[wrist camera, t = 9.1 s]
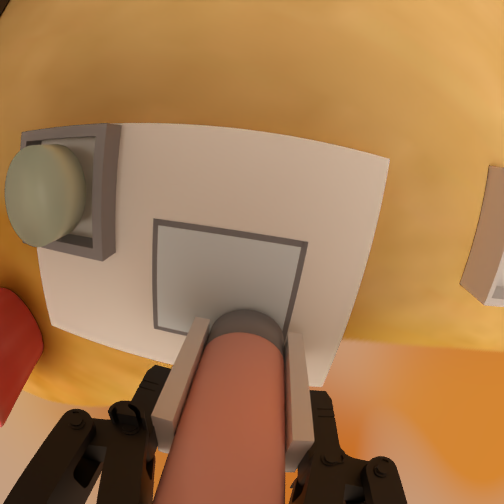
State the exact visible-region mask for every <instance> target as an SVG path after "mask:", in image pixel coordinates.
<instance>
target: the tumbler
mask: <svg viewBox="0 0 504 504" xmlns="http://www.w3.org/2000/svg"><path fill="white" fill-rule="evenodd" d="M284 364H285V362H284V337H283V333H282V330H281V328H280V327H279V325H278V324H277V323H276V322H275V321H274V320H273V319H272V318H270V317H269V316H267V315H265V314H263V313H261V312H258V311H254V310H247V309H241V310H234V311H230V312H228V313H225V314H223V315H222V316H220V317H219V318H218V319H217V320H216V321H215V322H214V323H213V325H212V327H211V330H210V333H209V336H208V338H207V341H206V344H205V347H204V350H203V354H202V357H201V360H200V362H199V365H198V368H197V371H196V374H195V377H194V380H193V383H192V386H191V388H190V391H189V394H188V397H187V400H186V403H185V406H184V409H183V412H182V415H181V418H180V421H179V424H178V427H177V430H176V433H175V436H174V439H173V442H172V445H171V448H170V451H169V454H168V457H167V460H166V463H165V466H164V469H163V472H162V475H161V478H160V481H159V484H158V487H157V490H156V493H155V497H154V500H153V503H152V504H285V379H284Z"/></svg>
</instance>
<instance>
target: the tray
mask: <svg viewBox="0 0 504 504" xmlns="http://www.w3.org/2000/svg"><path fill="white" fill-rule="evenodd" d="M460 285H461V286H463V287H464V288H465V289H466V290H467V291H469V292H470V293H471V294H472V295H473V296H474V297H475V298H477V299H478V300H479V301H480V302H481V303H482V304H483V305H488V306H498V307H504V168H501V167H495V166H489V171H488V178H487V184H486V190H485V195H484V200H483V205H482V210H481V214H480V219H479V223H478V227H477V231H476V234H475V238H474V242H473V245H472V248H471V252H470V255H469V258H468V261H467V264H466V267H465V270H464V273H463V276H462V279H461V281H460Z"/></svg>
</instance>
